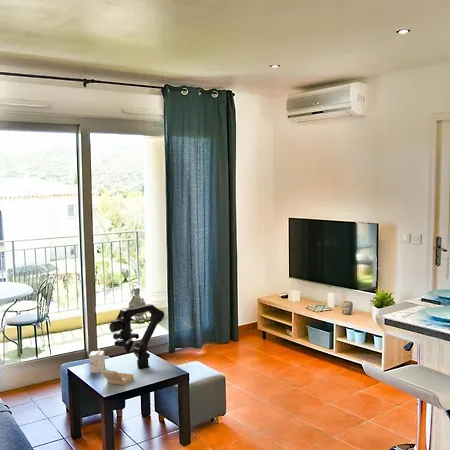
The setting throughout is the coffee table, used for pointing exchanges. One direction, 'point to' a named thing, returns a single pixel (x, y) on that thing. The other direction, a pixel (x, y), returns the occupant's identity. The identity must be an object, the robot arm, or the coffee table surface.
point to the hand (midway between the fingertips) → (127, 352)
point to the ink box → (96, 361)
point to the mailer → (124, 376)
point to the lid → (111, 375)
